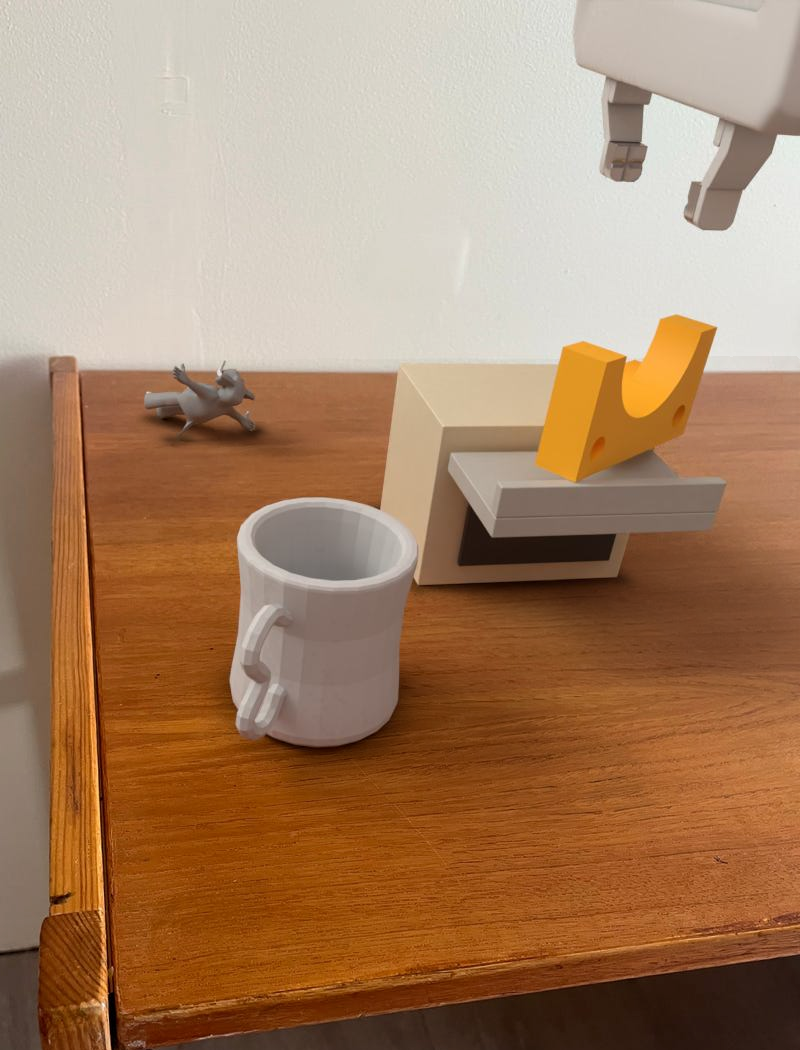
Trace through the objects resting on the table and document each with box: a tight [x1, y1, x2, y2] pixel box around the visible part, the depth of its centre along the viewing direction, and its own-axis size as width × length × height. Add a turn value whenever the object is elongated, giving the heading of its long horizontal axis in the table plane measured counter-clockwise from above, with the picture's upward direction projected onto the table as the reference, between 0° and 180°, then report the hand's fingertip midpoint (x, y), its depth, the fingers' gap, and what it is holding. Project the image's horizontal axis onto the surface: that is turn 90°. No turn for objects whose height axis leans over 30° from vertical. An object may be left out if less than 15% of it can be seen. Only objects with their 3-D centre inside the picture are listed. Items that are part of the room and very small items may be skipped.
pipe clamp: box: [535, 313, 718, 482], centre depth 57 cm, size 12×4×6 cm, turn 135°
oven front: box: [379, 362, 728, 586], centre depth 65 cm, size 14×18×11 cm
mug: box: [229, 496, 419, 748], centre depth 52 cm, size 12×9×10 cm
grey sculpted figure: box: [143, 360, 256, 440], centre depth 81 cm, size 10×6×9 cm
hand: (658, 201), depth 51 cm, fingers open, 8 cm apart
